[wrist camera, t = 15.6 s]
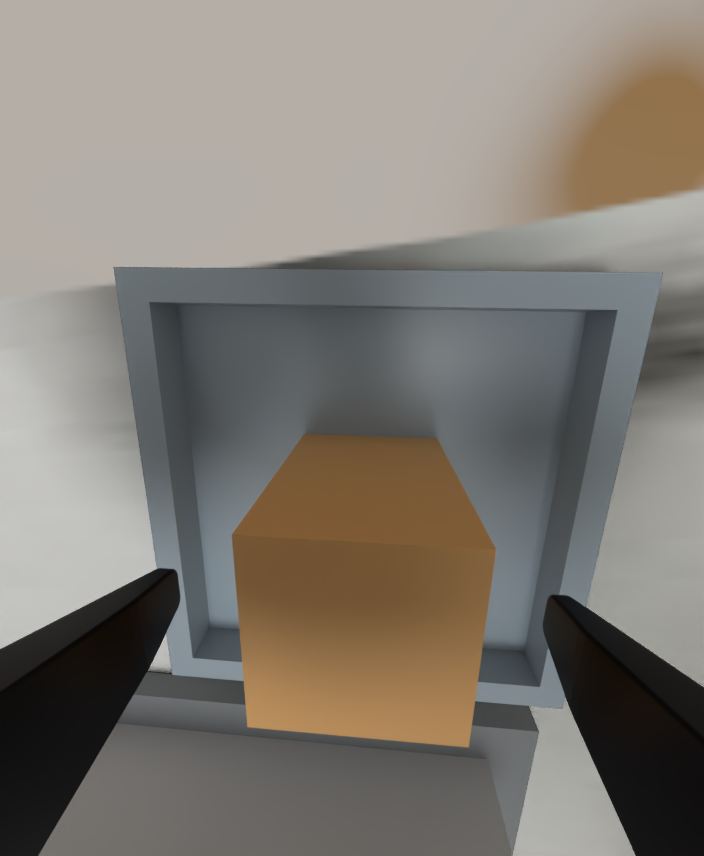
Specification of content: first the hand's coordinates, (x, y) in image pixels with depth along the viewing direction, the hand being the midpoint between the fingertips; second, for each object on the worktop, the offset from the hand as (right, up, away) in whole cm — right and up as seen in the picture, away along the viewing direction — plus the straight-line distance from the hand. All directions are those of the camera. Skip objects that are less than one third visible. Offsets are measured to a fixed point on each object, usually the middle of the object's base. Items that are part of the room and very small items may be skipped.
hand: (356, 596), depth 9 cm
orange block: (+1, +1, +5) cm, 6 cm away
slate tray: (+1, +2, +6) cm, 7 cm away
